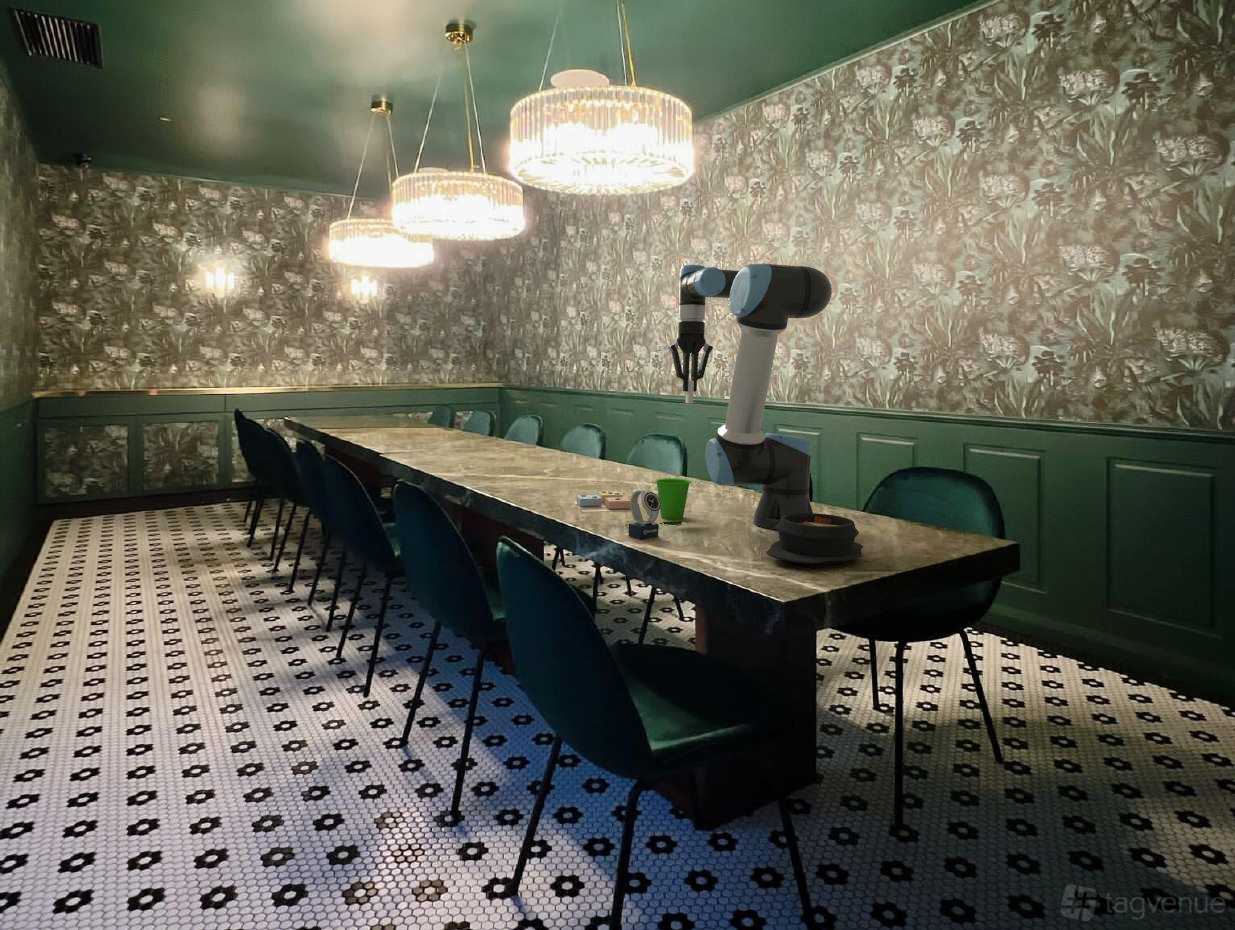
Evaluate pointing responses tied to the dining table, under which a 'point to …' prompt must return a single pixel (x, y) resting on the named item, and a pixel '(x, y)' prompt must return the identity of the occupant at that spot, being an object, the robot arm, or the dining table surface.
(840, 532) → the casserole
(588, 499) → the tile two
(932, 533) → the dining table surface
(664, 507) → the cup
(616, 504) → the tile one
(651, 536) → the watch
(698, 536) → the dining table surface
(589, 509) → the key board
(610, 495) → the tile three
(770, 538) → the dining table surface
